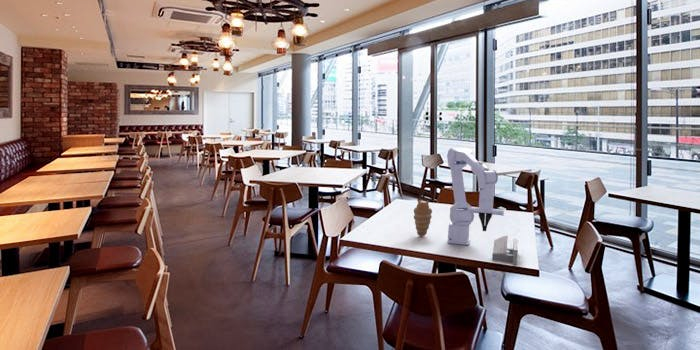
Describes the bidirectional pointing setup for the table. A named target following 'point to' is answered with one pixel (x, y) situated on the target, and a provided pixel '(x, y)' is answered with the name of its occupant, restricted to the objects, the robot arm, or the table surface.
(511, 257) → the socket bay
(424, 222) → the cat ice cream
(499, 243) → the white wedge bracket
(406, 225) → the table surface
